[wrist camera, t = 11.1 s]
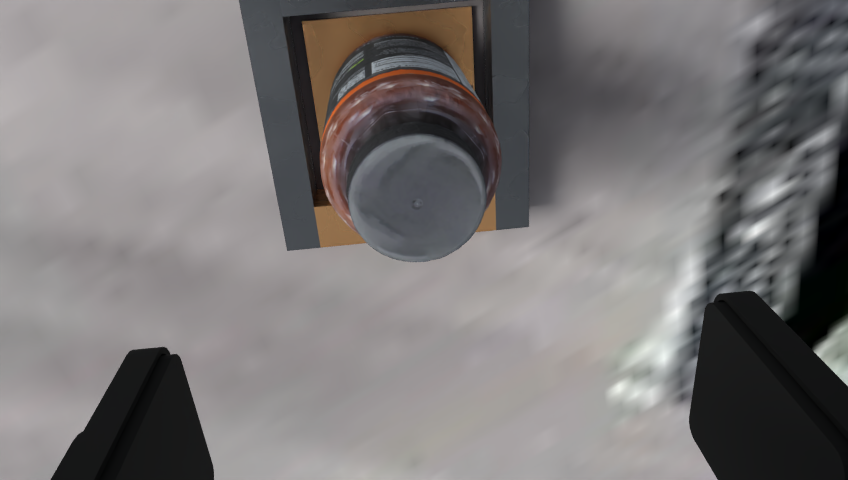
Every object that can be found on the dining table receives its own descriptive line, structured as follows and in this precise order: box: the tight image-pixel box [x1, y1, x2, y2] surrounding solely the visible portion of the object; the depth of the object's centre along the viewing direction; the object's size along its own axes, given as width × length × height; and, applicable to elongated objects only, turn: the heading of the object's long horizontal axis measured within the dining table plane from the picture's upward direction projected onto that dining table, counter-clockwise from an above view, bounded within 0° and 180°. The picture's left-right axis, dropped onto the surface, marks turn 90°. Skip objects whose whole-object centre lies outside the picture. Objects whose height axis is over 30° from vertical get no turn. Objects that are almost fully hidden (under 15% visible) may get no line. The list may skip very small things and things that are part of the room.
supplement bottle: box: [320, 33, 502, 262], centre depth 23 cm, size 6×6×11 cm
